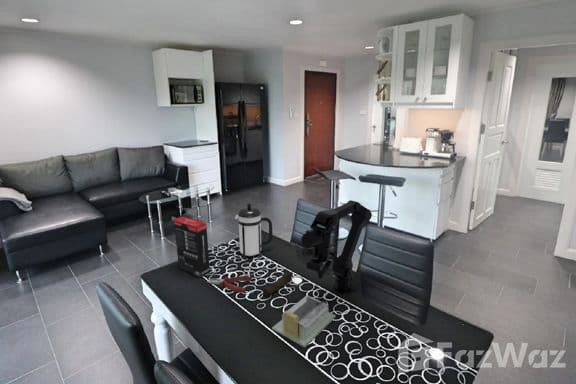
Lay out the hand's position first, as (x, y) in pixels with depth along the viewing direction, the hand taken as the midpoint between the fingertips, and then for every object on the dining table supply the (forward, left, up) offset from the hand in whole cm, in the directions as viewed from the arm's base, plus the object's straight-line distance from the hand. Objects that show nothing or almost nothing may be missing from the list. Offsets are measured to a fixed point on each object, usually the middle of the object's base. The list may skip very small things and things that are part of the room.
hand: (320, 278), depth 131 cm
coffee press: (+14, -56, -12) cm, 59 cm away
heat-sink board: (+11, +9, -12) cm, 18 cm away
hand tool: (+12, -18, -12) cm, 25 cm away
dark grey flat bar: (+11, +10, -6) cm, 16 cm away
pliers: (+31, -30, -13) cm, 45 cm away
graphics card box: (+47, -48, -12) cm, 68 cm away
